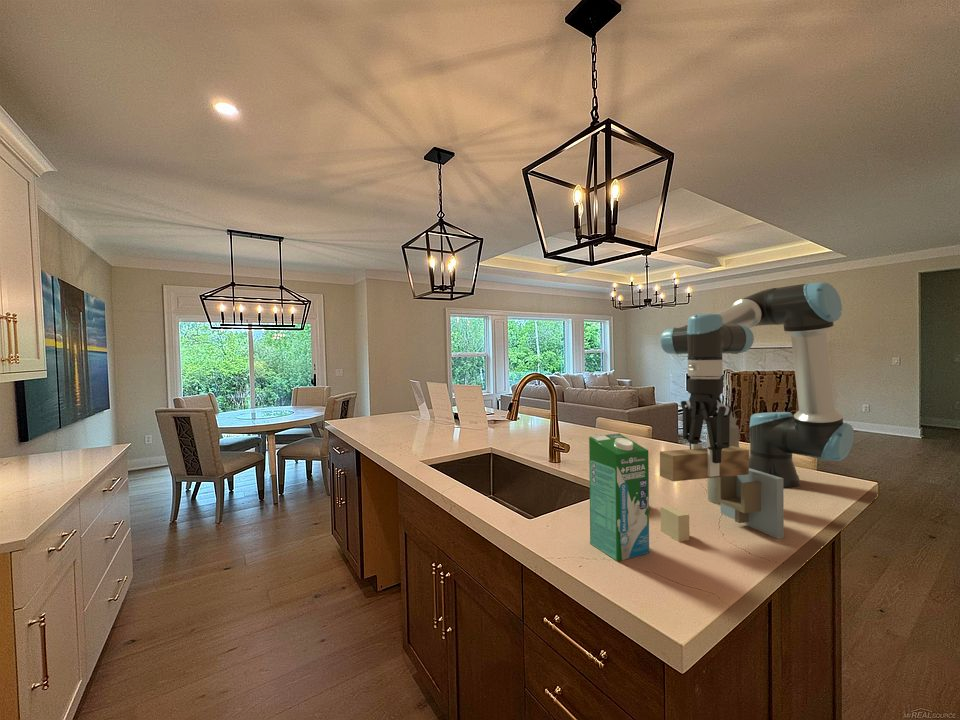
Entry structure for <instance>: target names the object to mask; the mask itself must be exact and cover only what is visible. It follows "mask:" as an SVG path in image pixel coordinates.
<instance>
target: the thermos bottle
mask: <svg viewBox="0 0 960 720" xmlns="http://www.w3.org/2000/svg"><path fill="white" fill-rule="evenodd" d="M710 417H713V416H710ZM737 422H738V421H737V419H736V418H735V417H734V416H733V410H732V411H731V414H730V436H729V446H735V447H739V448H740V429H739V427H740V426H739V425H737ZM706 435H707V436H706V439H707V441H706V442H707V443H706V445H707V446H706V448H708V447H710V442H709V436H708V430H707V429H706ZM716 444H717V443H716ZM707 500H708V501H709V502H711V503H713V504H715V505H716V504H717V505H720V506H721V503H719V502H717V477H715V478H707Z"/></svg>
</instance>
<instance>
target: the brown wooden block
mask: <svg viewBox="0 0 960 720" xmlns="http://www.w3.org/2000/svg"><path fill="white" fill-rule="evenodd" d="M749 457H750V449H746V448H743V447H740V446H739V447H735V446H729V448H723V449H722V450H721V463H719V476H713V477H709V476H708V448H707V447H702V448H701V449H690V448H689V449H677V450H676V449H675V450H663V451H659V476H660V477H661V478H664V479H666V480H668V481H671V482H681V481H690V480H691V481H692V480H693V481H694V480H704V479H708V478H715V477H726V476H736V475H747V474H749Z"/></svg>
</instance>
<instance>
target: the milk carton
mask: <svg viewBox="0 0 960 720" xmlns="http://www.w3.org/2000/svg"><path fill="white" fill-rule="evenodd" d="M588 441H589V442H588V443H589V445H588V446H589V447H588V449H589V450H588V451H589V452H588V454H589V456H588V458H589V461H588V462H589V463H588V464H589V534H590V535H589V536H590V537H589V544H590V545H592V546H594V548H597V549H598V550H599V551H601V552H603V553H604V554H605V555H606V556H608V557H610V558H611V559H613V560H615V561H616V562H620V561H624V560H629V559H632V558H635V557H638V556H643V555H645V554H649V553H650V498H649V497H650V491H649V490H650V488H649V487H650V484H649V483H650V482H649V480H650V479H649V478H650V477H649V469H650V468H649V467H650V465H649V462H650V461H649V449H647V448H645V447H644V446H642V445H640V444H639V443H636V442H635V441H633V440H632V439H630V438H628V437H626V436H625V435H623V434H621V433H611V434H603V435H601V434H600V435H591V436H589V437H588Z"/></svg>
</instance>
